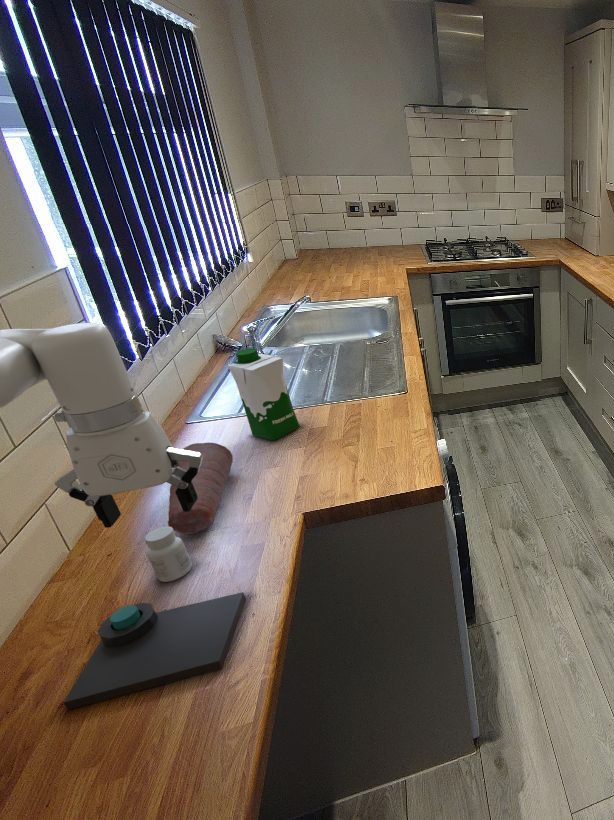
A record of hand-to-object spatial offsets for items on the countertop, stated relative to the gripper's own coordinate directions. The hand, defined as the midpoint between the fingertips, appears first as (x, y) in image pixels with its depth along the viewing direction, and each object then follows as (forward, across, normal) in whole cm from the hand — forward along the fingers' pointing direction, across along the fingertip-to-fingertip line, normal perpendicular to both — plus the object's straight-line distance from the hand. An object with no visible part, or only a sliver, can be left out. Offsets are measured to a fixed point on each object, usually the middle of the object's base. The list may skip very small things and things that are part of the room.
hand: (152, 513), depth 79 cm
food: (+12, -2, +18) cm, 21 cm away
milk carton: (+12, +6, +45) cm, 47 cm away
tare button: (+9, -1, -12) cm, 15 cm away
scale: (+11, +4, -16) cm, 20 cm away
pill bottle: (+12, 0, 0) cm, 12 cm away
